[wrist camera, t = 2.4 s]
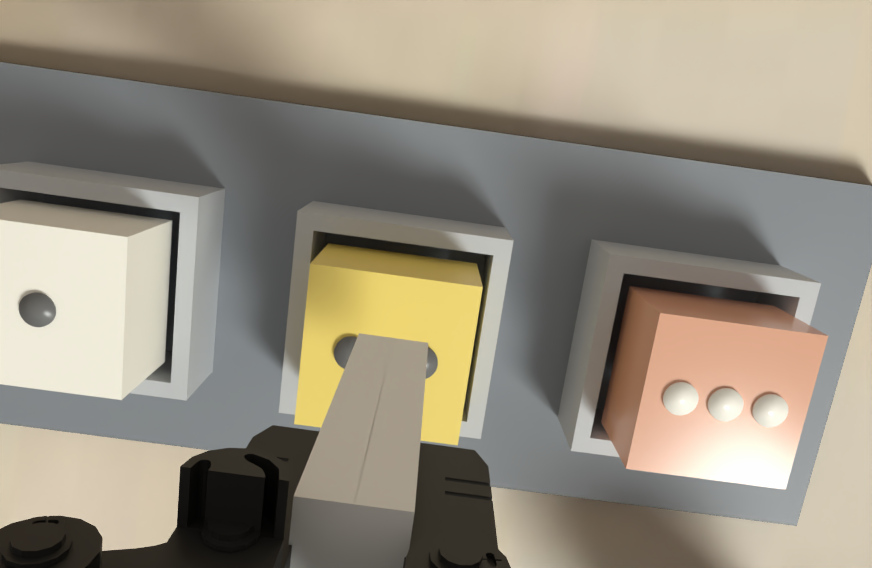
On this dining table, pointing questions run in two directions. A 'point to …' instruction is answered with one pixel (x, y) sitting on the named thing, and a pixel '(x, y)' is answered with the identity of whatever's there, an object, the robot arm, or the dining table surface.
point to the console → (432, 237)
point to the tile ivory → (81, 298)
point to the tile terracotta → (710, 387)
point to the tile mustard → (390, 326)
